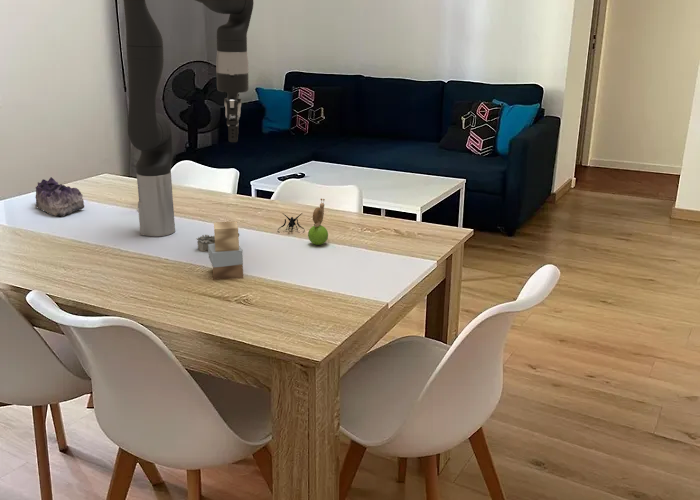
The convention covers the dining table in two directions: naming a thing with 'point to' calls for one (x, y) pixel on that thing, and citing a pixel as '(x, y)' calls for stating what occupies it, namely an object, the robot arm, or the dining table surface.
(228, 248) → the oak cube
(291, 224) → the creature
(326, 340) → the dining table surface
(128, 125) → the robot arm
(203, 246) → the grey stone ruin model
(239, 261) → the tower top
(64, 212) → the geode
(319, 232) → the snail figurine
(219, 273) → the tower base
